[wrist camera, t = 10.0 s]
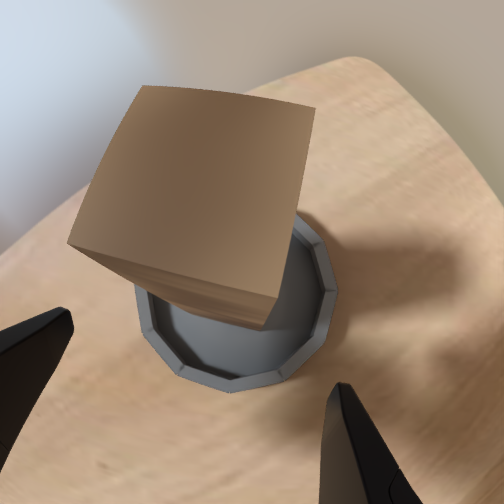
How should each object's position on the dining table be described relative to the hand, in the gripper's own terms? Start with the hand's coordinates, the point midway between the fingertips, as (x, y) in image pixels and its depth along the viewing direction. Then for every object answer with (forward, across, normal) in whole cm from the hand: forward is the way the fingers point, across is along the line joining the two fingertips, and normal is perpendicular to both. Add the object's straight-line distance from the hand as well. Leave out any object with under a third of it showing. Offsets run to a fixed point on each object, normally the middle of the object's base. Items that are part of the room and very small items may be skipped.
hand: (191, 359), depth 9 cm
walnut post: (+9, 0, +3) cm, 9 cm away
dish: (+9, 0, +4) cm, 10 cm away
